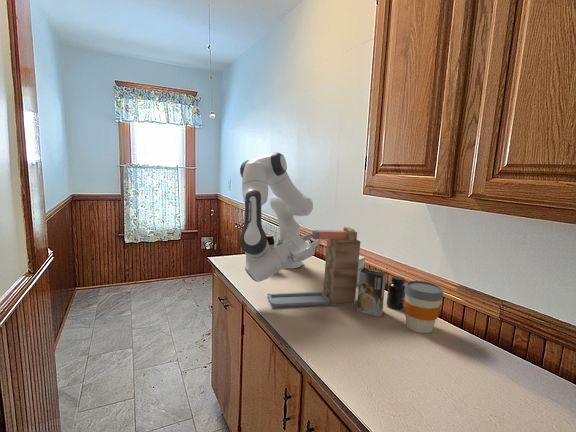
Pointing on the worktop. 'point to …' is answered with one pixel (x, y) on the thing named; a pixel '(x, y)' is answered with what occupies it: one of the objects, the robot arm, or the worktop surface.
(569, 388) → the worktop surface
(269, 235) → the travel mug
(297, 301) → the tray
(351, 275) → the tall wooden block
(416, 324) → the reusable coffee cup
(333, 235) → the bar
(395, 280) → the supplement bottle
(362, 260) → the supplement box
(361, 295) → the coffee box
